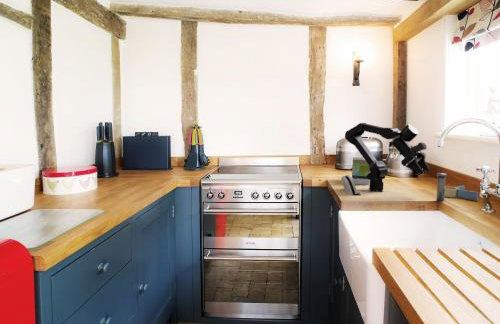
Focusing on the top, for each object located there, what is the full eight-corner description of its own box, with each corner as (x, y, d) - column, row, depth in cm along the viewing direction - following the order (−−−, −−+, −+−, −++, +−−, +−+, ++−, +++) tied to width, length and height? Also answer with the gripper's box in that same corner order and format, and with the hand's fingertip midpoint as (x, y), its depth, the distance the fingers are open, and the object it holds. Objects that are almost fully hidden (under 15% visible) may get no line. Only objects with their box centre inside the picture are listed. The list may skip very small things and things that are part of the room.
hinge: (360, 195, 187) (354, 176, 186) (351, 198, 188) (345, 179, 187) (353, 188, 204) (348, 171, 203) (345, 191, 204) (339, 174, 203)
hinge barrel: (448, 199, 178) (448, 191, 177) (437, 191, 196) (437, 184, 196) (478, 200, 175) (478, 192, 175) (464, 193, 194) (464, 185, 193)
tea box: (369, 185, 216) (370, 159, 214) (351, 184, 218) (352, 159, 216) (368, 180, 230) (369, 157, 228) (351, 180, 233) (352, 156, 231)
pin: (436, 201, 174) (438, 174, 172) (434, 199, 178) (435, 172, 176) (446, 202, 173) (448, 174, 171) (443, 200, 177) (445, 173, 175)
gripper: (409, 137, 173) (433, 163, 167) (422, 136, 187) (445, 159, 181) (391, 153, 179) (414, 178, 173) (405, 150, 193) (426, 174, 187)
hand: (425, 172), depth 179 cm, fingers open, 9 cm apart
